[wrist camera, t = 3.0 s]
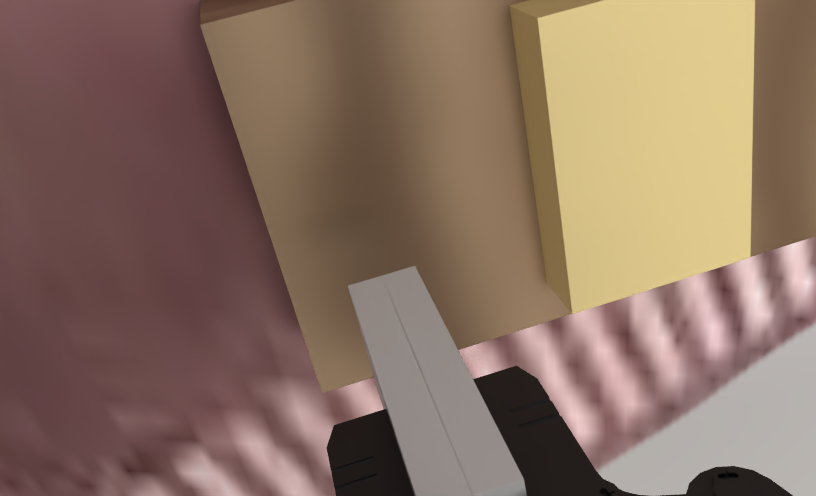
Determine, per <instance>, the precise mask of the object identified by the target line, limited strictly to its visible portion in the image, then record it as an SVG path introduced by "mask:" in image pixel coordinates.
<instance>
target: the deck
mask: <svg viewBox="0 0 816 496" xmlns="http://www.w3.org/2000/svg"><path fill="white" fill-rule="evenodd" d="M524 1H528V0H201V1H200V27H201V30H202V33H203V36H204V39H205V42H206V45H207V48H208V51H209V54H210V57H211V60H212V63H213V66H214V69H215V72H216V75H217V78H218V81H219V84H220V87H221V90H222V93H223V96H224V99H225V102H226V105H227V108H228V111H229V114H230V117H231V120H232V123H233V126H234V129H235V132H236V135H237V138H238V141H239V144H240V147H241V150H242V153H243V156H244V159H245V162H246V165H247V168H248V171H249V174H250V177H251V180H252V183H253V186H254V189H255V193H256V196H257V199H258V202H259V205H260V208H261V211H262V214H263V217H264V220H265V223H266V226H267V229H268V232H269V235H270V238H271V241H272V244H273V247H274V250H275V253H276V256H277V259H278V262H279V265H280V268H281V271H282V274H283V277H284V280H285V283H286V286H287V289H288V292H289V295H290V298H291V301H292V304H293V307H294V310H295V313H296V316H297V319H298V322H299V325H300V328H301V331H302V334H303V337H304V340H305V343H306V346H307V349H308V352H309V355H310V358H311V361H312V364H313V367H314V370H315V373H316V376H317V379H318V382H319V386H320V389H321V392H322V393H324V392H328V391H331V390H334V389H337V388H340V387H343V386H346V385H350V384H353V383H356V382H359V381H362V380H365V379H368V378H371V377H374V376H373V372H372V369H371V365H370V362H369V358H368V355H367V351H366V348H365V344H364V341H363V337H362V334H361V330H360V327H359V323H358V320H357V316H356V313H355V309H354V306H353V302H352V299H351V295H350V292H349V288H348V286H349V285H352V284H355V283H359V282H362V281H365V280H369V279H372V278H376V277H379V276H382V275H386V274H389V273H392V272H396V271H399V270H402V269H406V268H409V267H413V266H415V267H416V269H417V271H418V273H419V275H420V277H421V279H422V281H423V282H424V284H425V286H426V288H427V290H428V292H429V294H430V296H431V298H432V300H433V302H434V304H435V306H436V308H437V310H438V312H439V314H440V316H441V318H442V320H443V322H444V324H445V326H446V328H447V329H448V331H449V333H450V335H451V337H452V339H453V341H454V343H455V345H456V347H457V349H458V350H459V349H463V348H466V347H469V346H472V345H475V344H478V343H481V342H485V341H488V340H491V339H494V338H497V337H500V336H503V335H507V334H510V333H513V332H516V331H519V330H522V329H525V328H529V327H532V326H535V325H538V324H541V323H544V322H547V321H550V320H554V319H557V318H560V317H563V316H566V315H569V314H572V313H571V312H570V310H569V309H568V308H567V307H566V306H565V304H564V303H563V302H562V301H561V300H560V298H559V297H558V296H557V295H556V294H555V292H554V291H553V290H552V289H551V288H550V286H549V285H548V284H547V282H546V274H545V267H544V259H543V252H542V244H541V237H540V230H539V222H538V215H537V207H536V200H535V192H534V185H533V178H532V170H531V163H530V155H529V148H528V140H527V133H526V126H525V118H524V111H523V103H522V96H521V89H520V81H519V74H518V66H517V59H516V51H515V44H514V37H513V29H512V22H511V14H510V7H509V5H513V4H517V3H520V2H524ZM814 236H816V0H755V35H754V89H753V143H752V198H751V252H750V257H751V256H755V255H758V254H761V253H764V252H767V251H770V250H773V249H777V248H780V247H783V246H786V245H789V244H792V243H795V242H799V241H802V240H805V239H808V238H811V237H814Z"/></svg>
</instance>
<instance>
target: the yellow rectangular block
mask: <svg viewBox="0 0 816 496" xmlns="http://www.w3.org/2000/svg"><path fill="white" fill-rule="evenodd" d="M509 7H510V14H511V22H512V29H513V37H514V44H515V51H516V59H517V66H518V74H519V81H520V89H521V96H522V103H523V111H524V118H525V126H526V133H527V140H528V148H529V155H530V163H531V170H532V178H533V185H534V192H535V200H536V207H537V215H538V222H539V230H540V237H541V244H542V252H543V259H544V267H545V274H546V282H547V284H548V285H549V286H550V288H551V289H552V290H553V291H554V292H555V294H556V295H557V296H558V297H559V298H560V300H561V301H562V302H563V303H564V304H565V306H566V307H567V308H568V309H569V310H570V312H571V313H572V314H574V313H578V312H581V311H584V310H587V309H590V308H593V307H596V306H600V305H603V304H606V303H609V302H612V301H615V300H618V299H621V298H625V297H628V296H631V295H634V294H637V293H640V292H643V291H647V290H650V289H653V288H656V287H659V286H662V285H665V284H669V283H672V282H675V281H678V280H681V279H684V278H687V277H691V276H694V275H697V274H700V273H703V272H706V271H709V270H713V269H716V268H719V267H722V266H725V265H728V264H731V263H734V262H738V261H741V260H744V259H747V258H750V252H751V198H752V143H753V89H754V35H755V0H528V1H524V2H520V3H517V4H513V5H509Z"/></svg>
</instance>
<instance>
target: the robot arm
mask: <svg viewBox="0 0 816 496" xmlns="http://www.w3.org/2000/svg"><path fill="white" fill-rule="evenodd" d="M348 288H349V292H350V295H351V299H352V302H353V306H354V309H355V313H356V316H357V320H358V323H359V327H360V330H361V334H362V337H363V341H364V344H365V348H366V351H367V355H368V358H369V362H370V365H371V369H372V372H373V376H374V379H375V383H376V386H377V389H378V392H379V396H380V399H381V402H382V405H383V408H384V410H381V411H378V412H375V413H372V414H368V415H365V416H362V417H359V418H356V419H353V420H349V421H346V422H343V423H340V424H337V425H334V427H333V430H332V433H331V436H330V439H329V442H328V445H327V452H328V457H329V462H330V467H331V471H332V477H333V482H334V487H335V491H336V496H646V495H637V494H632V493H628V492H624V491H622V490H620V489H618V488H617V487H616V486H615V485H614V484H613V483H610V482H608V481H606V480H604V479H603V478H602V477H601V476H600V475H599V474H598V473H597V471H596V470H595V469H594V467H593V465H592V464H591V462H590V461H589V459H588V458H587V456H586V454H585V453H584V451H583V450H582V448H581V447H580V445H579V443H578V442H577V440H576V439H575V437H574V436H573V434H572V433H571V431H570V429H569V428H568V426H567V425H566V423H565V422H564V420H563V418H562V417H561V416H560V415H559V412H558V411H557V409H556V407H555V406H554V404H553V403H552V401H550V399H549V396H548V395H547V393H546V392H545V390H544V389H543V387H542V385H541V384H540V382H539V381H538V379H537V378H535V377H534V376H532V375H530V374H529V373H527V372H526V371H524V370H522V369H521V368H519V367H518V366H514V367H511V368H508V369H505V370H501V371H498V372H495V373H492V374H489V375H486V376H482V377H479V378H476V379H473V378H472V377H471V375H470V373H469V371H468V369H467V367H466V365H465V363H464V361H463V359H462V357H461V355H460V353H459V351H458V349H457V347H456V345H455V343H454V341H453V339H452V337H451V335H450V333H449V331H448V329H447V328H446V326H445V324H444V322H443V320H442V318H441V316H440V314H439V312H438V310H437V308H436V306H435V304H434V302H433V300H432V298H431V296H430V294H429V292H428V290H427V288H426V286H425V284H424V282H423V281H422V279H421V277H420V275H419V273H418V271H417V269H416V267H415V266H413V267H409V268H406V269H402V270H399V271H396V272H392V273H389V274H386V275H382V276H379V277H376V278H372V279H369V280H365V281H362V282H359V283H355V284H352V285H349V286H348ZM662 496H792V495H791V494H790V493H788V492H787V491H786V490H784V489H783V488H782V487H780V486H779V485H777V484H776V483H775V482H773V481H772V480H771V479H769V478H767V477H765V476H763V475H761V474H759V473H757V472H755V471H753V470H749V469H745V468H740V467H735V466H730V467H729V466H728V467H715V468H712V469H710V470H707V471H704V472H702V473H700V474H699V475H698V476H697V477H696V478H695V479H693V480H692V481H691V482H690V483H689V486H688V490H687V493H686V494H682V495H662Z"/></svg>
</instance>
